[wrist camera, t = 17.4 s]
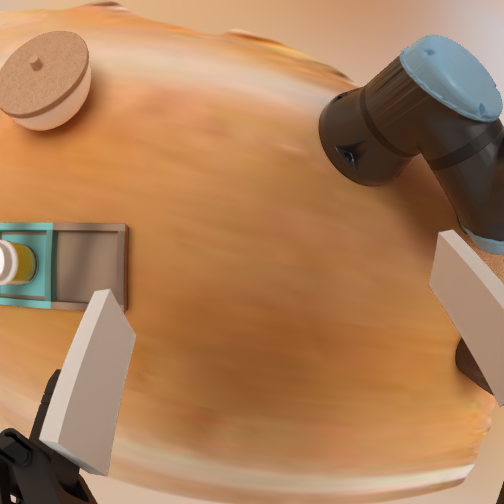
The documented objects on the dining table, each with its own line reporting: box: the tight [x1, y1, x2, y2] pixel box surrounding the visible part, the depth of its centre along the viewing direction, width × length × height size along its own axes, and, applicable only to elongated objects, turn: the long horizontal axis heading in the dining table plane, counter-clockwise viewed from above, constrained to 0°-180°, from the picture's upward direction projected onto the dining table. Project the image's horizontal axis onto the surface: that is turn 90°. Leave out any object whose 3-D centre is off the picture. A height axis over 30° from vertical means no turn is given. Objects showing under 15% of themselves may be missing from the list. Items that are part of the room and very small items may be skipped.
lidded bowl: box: [0, 31, 91, 131], centre depth 29 cm, size 13×13×11 cm
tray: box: [0, 223, 129, 312], centre depth 30 cm, size 27×10×3 cm, turn 90°
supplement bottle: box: [0, 240, 38, 285], centre depth 27 cm, size 5×5×8 cm
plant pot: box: [456, 338, 494, 395], centre depth 41 cm, size 15×15×16 cm
